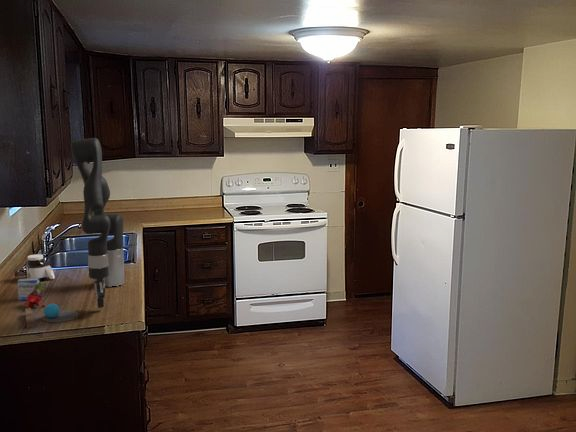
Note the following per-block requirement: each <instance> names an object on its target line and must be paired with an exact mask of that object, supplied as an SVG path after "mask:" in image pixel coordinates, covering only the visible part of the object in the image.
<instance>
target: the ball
mask: <svg viewBox="0 0 576 432" xmlns="http://www.w3.org/2000/svg"><path fill="white" fill-rule="evenodd" d="M60 311H61V310H60V307H59V305H57V304H55V303H49V304H47V305H45V307H44V309H43V313H44V315H45V316H46V317H48V318H55V317H56V316H58V314H59V312H60Z"/></svg>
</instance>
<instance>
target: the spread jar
mask: <svg viewBox="0 0 576 432" xmlns="http://www.w3.org/2000/svg"><path fill="white" fill-rule="evenodd" d="M25 268H26V276H27V279H28V278H39V282H43V281H44V280H45V279H46V278H47V276H48V278H49V279H50V280H54V279H55V278H56V277H55V273H54V271H53V268H52V267H51V266H50V265H46V261H45V259H44V254H40V253H39V254H30V255H28V256H27V262H26V267H25Z"/></svg>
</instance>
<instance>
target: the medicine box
mask: <svg viewBox="0 0 576 432" xmlns="http://www.w3.org/2000/svg"><path fill="white" fill-rule="evenodd" d="M38 283H40V281H39V278H28V277H27V278H19V279H18V280H17V294H18V295H17V297H18V301H19V302H24V301H26V302H27V301H28V295H29V294H30V293H31V292H32V291H33V289H34V288H35V286H36V285H37V284H38Z"/></svg>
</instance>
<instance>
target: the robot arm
mask: <svg viewBox="0 0 576 432" xmlns="http://www.w3.org/2000/svg"><path fill="white" fill-rule="evenodd" d="M70 150H71V155H72V157H73V160H74V162H75V164H76V166H77V168H78V171H79V173H80V175H81V178H82V182H83V191H82V193H83V194H82V195H83V203H84V210H83V211H84V212H83V218H82V221H81V228H82V231H83V232H84V234H88V235H91V234H92V235H93V234H100V235H99V236H98V237H95V238H92V239H90V240H88V242H87V250H88V251H87V254H88V256H87V258H88V259H87V264H88V266H87V268H88V278H90V279H92V280H93V285H94V292H95V295H96V296H95V297H96V302H97V304H96V305H97V308H98V309H101V308H104V306H105V303H104V302H105V301H104V299H105V296H106V295H105V294H106V288H105V287H107V286H108V288H113V287H112V286H117V287H120V286H119V285H121V286H123V285H122V284H124V283H125V280H126V279H125V261H124V260H125V259H124V258H125V256H124V218H123V216H122V215H121V214H119V213H105V211H104V209H105V207H106V204H107V203H108V201H109V200H110V198H111V197H110V196H111V190H110V188H109V187H110V186H109V184H108V181H107V179H106V178H105V177H104V176H103V175H102V174H103V151H102V145H101V143H100V141H99V139H98V138H96V137H90V138H82V139H75V140H73V141H72V142H71V144H70ZM89 162H93V165H92V167H91V166H90V165H89V164H88V163H89ZM91 214H94V215H91ZM109 235H113V238H111V239H108V236H109ZM124 285H125V284H124Z"/></svg>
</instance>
